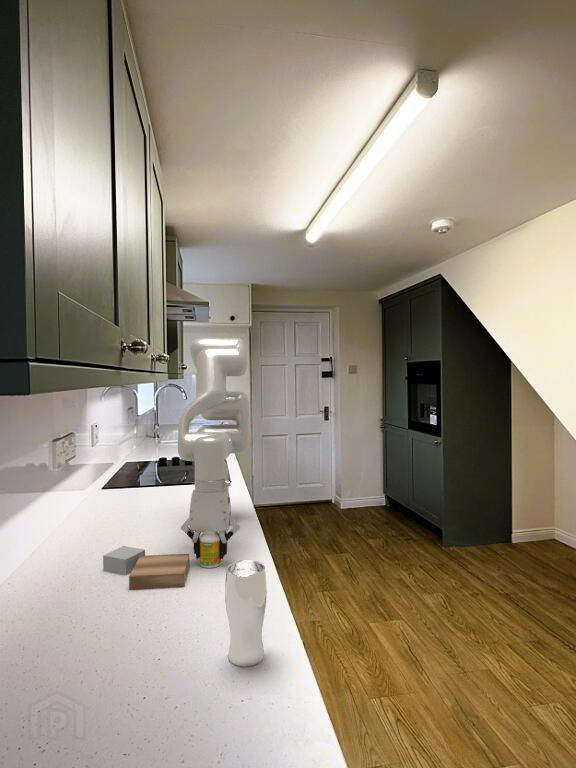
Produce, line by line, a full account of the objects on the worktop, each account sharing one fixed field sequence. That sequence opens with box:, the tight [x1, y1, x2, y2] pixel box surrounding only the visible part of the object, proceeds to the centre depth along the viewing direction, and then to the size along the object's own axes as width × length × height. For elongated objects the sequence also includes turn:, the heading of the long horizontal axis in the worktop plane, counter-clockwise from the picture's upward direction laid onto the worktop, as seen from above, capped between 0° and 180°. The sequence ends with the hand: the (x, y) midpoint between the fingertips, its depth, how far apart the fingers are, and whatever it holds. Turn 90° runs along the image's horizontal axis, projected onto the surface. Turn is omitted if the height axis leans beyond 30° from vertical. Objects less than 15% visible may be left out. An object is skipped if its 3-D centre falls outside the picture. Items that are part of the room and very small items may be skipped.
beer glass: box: [224, 559, 267, 668], centre depth 79 cm, size 7×7×15 cm
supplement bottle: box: [199, 531, 222, 569], centre depth 117 cm, size 5×5×10 cm
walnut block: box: [128, 553, 191, 591], centre depth 110 cm, size 12×12×3 cm
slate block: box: [102, 545, 146, 576], centre depth 116 cm, size 7×7×4 cm
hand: (210, 556), depth 118 cm, fingers closed on supplement bottle, 5 cm apart
